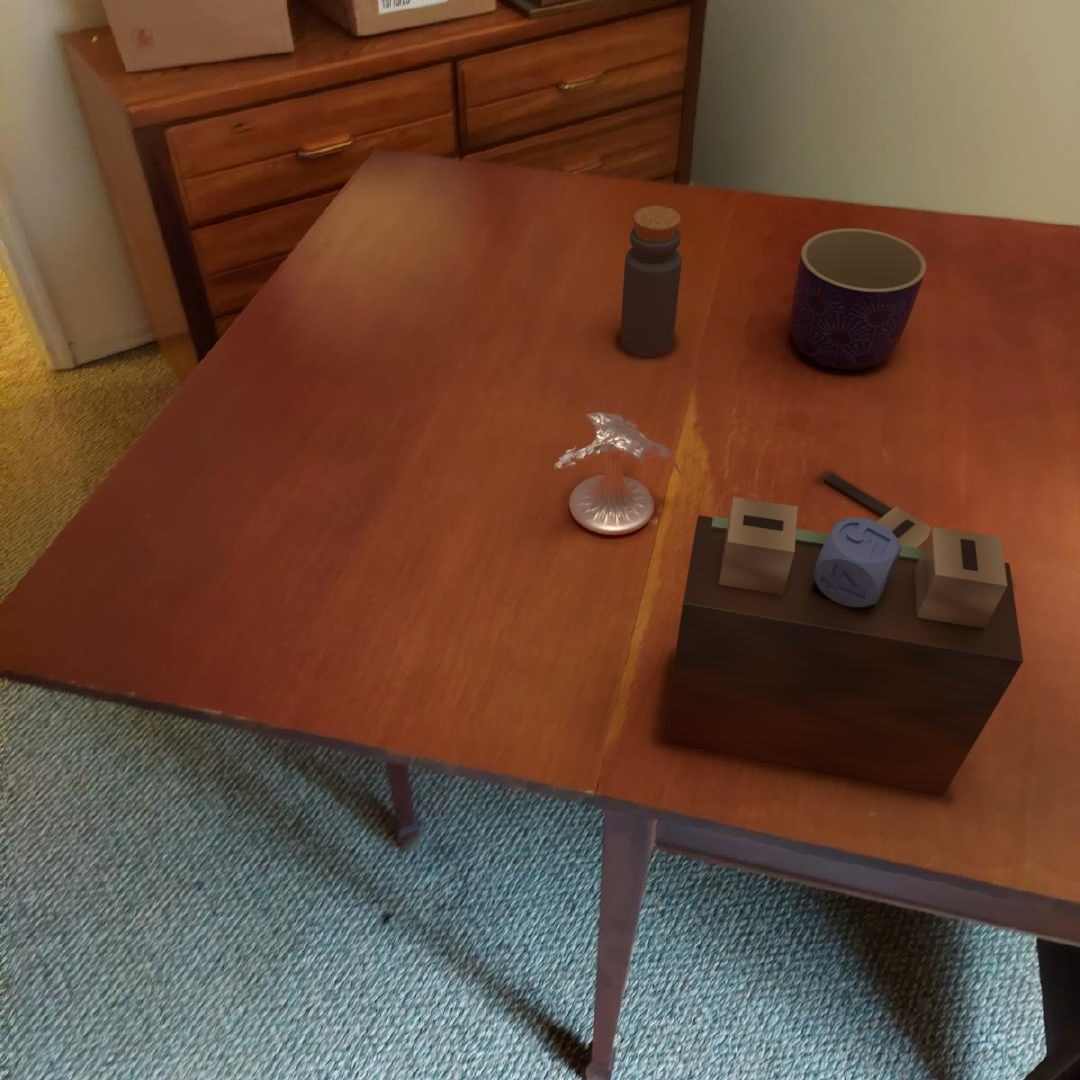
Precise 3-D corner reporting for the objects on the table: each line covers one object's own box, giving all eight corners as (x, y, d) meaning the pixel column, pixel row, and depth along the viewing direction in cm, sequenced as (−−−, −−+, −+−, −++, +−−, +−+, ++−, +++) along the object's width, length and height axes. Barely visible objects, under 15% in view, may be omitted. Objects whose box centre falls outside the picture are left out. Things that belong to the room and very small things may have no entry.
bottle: (671, 360, 104) (685, 233, 93) (617, 356, 104) (624, 228, 93) (674, 330, 108) (688, 204, 97) (622, 325, 108) (630, 200, 97)
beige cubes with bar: (1005, 582, 81) (1022, 549, 78) (960, 626, 78) (976, 594, 75) (831, 476, 91) (840, 443, 88) (784, 512, 87) (792, 479, 84)
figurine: (683, 508, 88) (694, 428, 81) (580, 565, 83) (582, 485, 76) (629, 463, 92) (635, 383, 85) (528, 514, 87) (526, 434, 80)
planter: (801, 305, 111) (820, 217, 103) (909, 333, 107) (938, 243, 99) (767, 362, 103) (785, 271, 95) (882, 394, 99) (911, 302, 91)
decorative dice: (869, 618, 58) (885, 574, 55) (807, 591, 60) (820, 547, 57) (891, 576, 61) (908, 532, 58) (830, 551, 62) (844, 507, 59)
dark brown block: (937, 704, 73) (1033, 517, 58) (942, 796, 67) (1050, 617, 53) (675, 657, 76) (705, 469, 62) (661, 742, 71) (689, 558, 56)
